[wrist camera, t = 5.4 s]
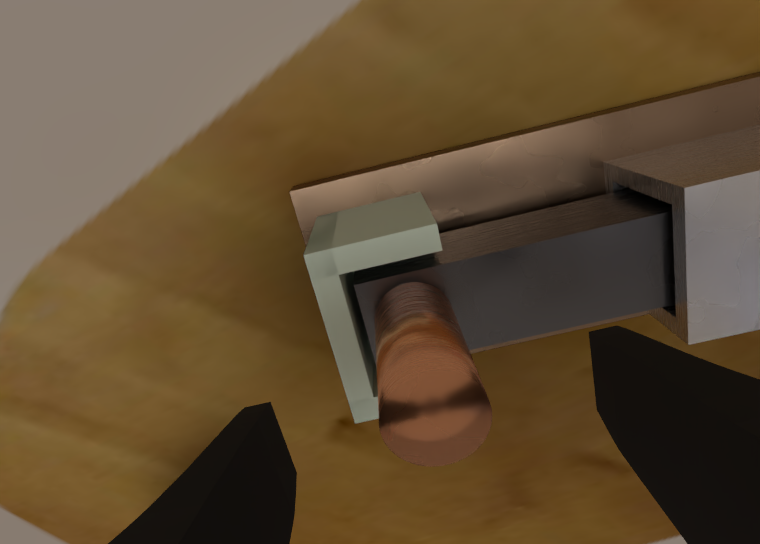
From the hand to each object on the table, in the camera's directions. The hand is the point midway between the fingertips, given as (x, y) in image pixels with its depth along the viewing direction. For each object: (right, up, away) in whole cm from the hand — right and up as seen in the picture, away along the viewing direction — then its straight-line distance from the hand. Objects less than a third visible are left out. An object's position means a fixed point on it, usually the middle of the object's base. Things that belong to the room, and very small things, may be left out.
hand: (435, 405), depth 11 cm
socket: (-1, +3, +9) cm, 9 cm away
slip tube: (+4, +4, +7) cm, 9 cm away
